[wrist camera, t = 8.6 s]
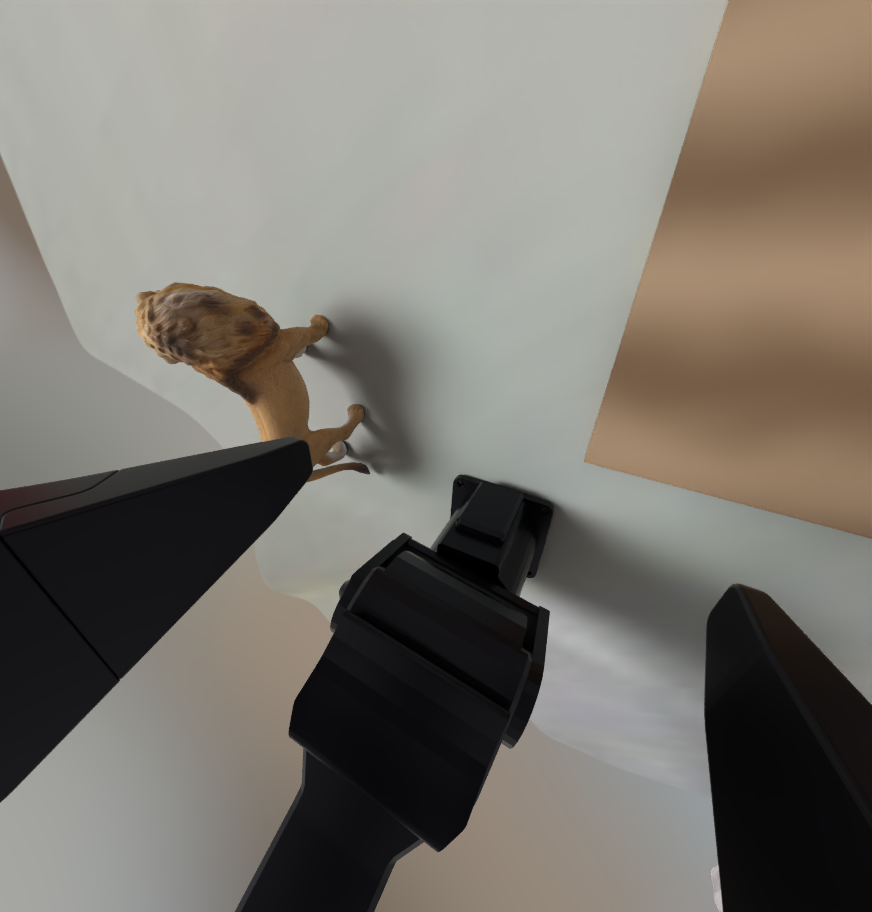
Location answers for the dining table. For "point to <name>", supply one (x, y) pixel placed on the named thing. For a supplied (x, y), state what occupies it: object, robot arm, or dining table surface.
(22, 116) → the dining table surface
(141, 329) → the lion figurine
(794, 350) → the press board
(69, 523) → the robot arm
